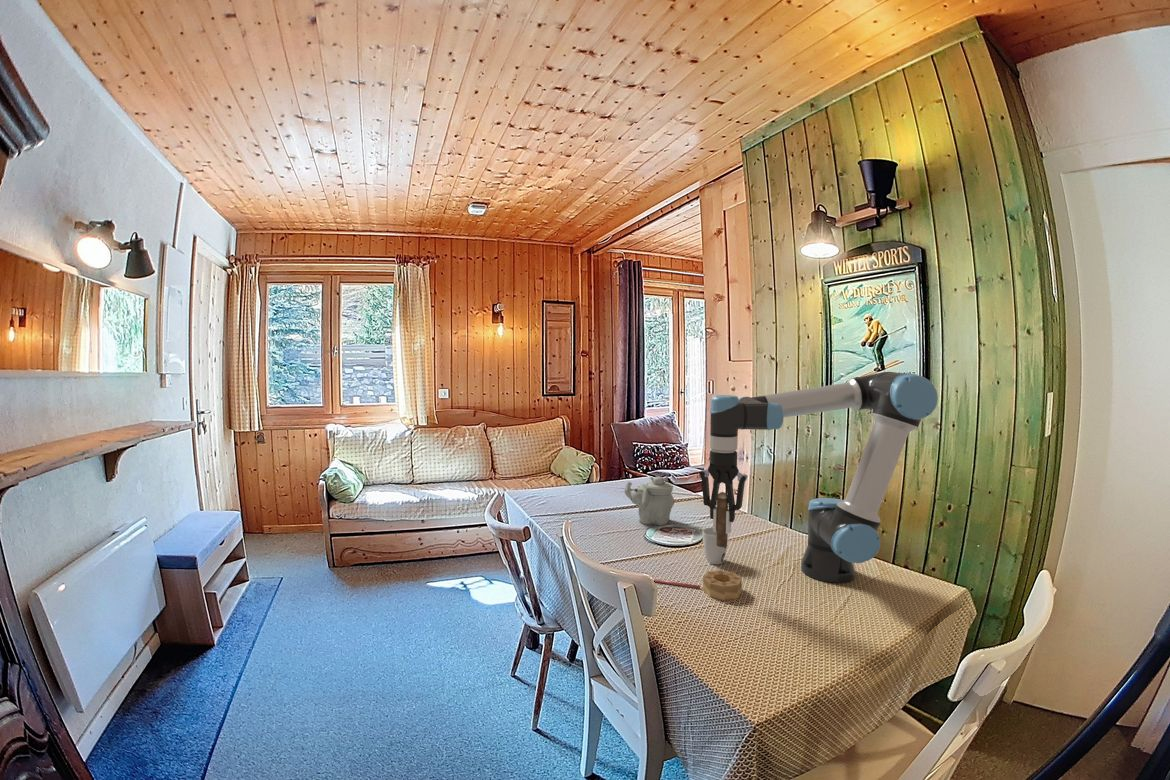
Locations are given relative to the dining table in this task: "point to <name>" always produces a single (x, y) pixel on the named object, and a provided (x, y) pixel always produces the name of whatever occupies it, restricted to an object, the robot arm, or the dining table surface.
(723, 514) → the brown rod
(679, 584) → the thin red rod
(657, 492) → the teapot
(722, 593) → the wooden ring block
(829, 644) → the dining table surface
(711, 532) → the cup
